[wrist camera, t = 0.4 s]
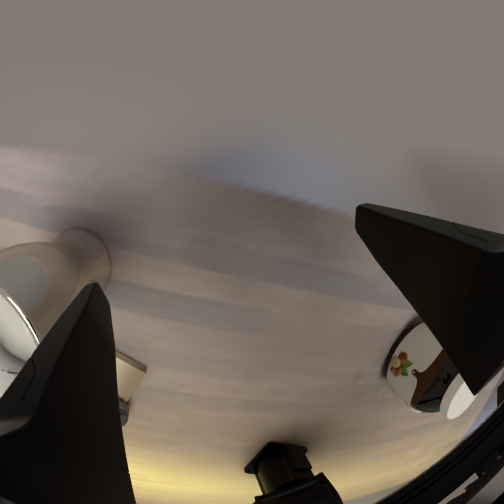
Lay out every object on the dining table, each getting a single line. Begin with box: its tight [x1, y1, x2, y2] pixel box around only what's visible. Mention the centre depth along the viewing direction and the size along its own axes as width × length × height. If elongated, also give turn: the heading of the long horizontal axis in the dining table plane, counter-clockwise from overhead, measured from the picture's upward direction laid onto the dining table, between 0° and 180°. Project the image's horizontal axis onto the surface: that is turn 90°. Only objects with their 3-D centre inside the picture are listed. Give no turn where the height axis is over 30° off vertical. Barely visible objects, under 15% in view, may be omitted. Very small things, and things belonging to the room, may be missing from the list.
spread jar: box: [386, 323, 477, 419], centre depth 29 cm, size 12×11×12 cm
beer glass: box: [0, 229, 111, 398], centre depth 15 cm, size 7×7×15 cm
